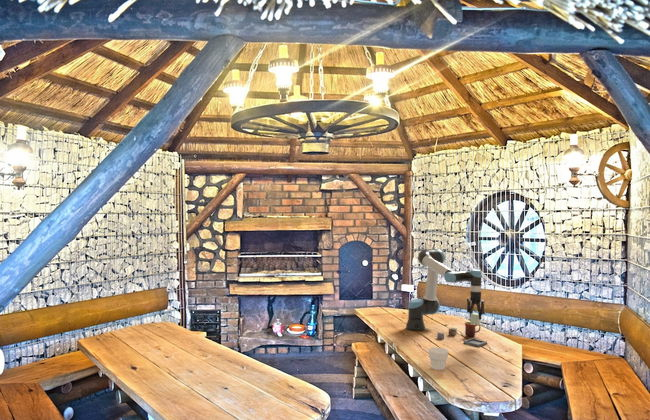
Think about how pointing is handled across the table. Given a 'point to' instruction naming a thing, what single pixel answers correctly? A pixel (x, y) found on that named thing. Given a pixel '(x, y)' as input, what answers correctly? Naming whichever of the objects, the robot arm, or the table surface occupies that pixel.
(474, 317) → the sage brick
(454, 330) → the walnut block
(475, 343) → the tray
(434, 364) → the cup
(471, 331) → the mug
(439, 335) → the rubber puck
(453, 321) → the table surface
